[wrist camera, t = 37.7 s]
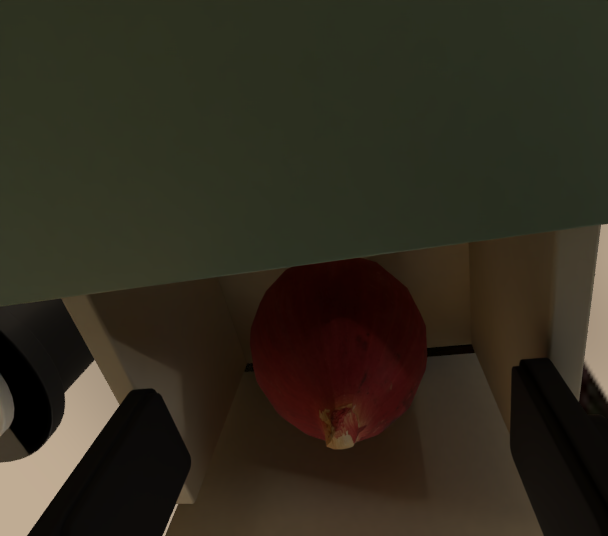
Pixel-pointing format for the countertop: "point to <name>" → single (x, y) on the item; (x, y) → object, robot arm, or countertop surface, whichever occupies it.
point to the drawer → (394, 439)
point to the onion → (339, 349)
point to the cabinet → (288, 133)
